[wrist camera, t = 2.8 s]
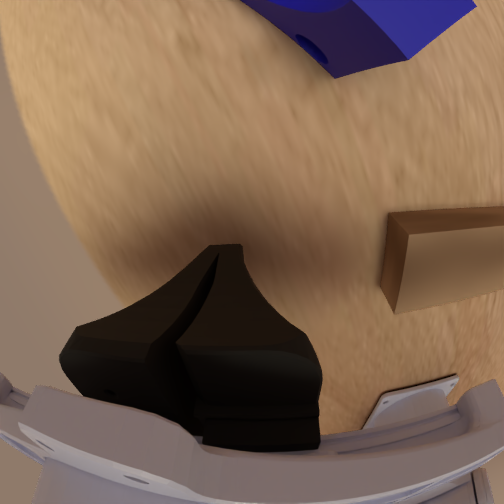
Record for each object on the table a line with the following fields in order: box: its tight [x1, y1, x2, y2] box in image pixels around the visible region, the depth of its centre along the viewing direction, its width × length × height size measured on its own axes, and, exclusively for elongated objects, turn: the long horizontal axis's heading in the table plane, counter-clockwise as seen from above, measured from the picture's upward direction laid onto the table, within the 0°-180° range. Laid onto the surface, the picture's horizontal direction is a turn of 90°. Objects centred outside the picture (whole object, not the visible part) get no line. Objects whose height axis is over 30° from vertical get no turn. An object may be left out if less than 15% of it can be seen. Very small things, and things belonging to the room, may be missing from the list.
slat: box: [380, 206, 504, 314], centre depth 11 cm, size 4×12×2 cm, turn 98°
